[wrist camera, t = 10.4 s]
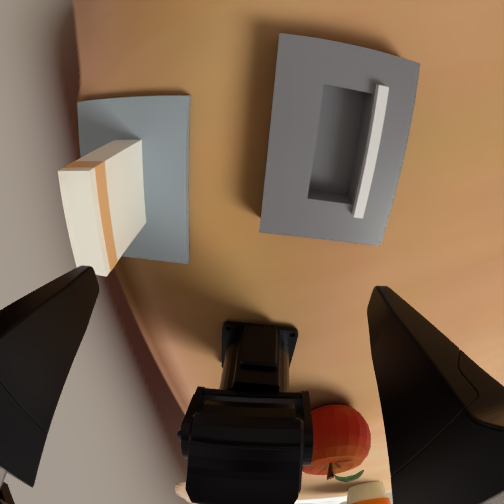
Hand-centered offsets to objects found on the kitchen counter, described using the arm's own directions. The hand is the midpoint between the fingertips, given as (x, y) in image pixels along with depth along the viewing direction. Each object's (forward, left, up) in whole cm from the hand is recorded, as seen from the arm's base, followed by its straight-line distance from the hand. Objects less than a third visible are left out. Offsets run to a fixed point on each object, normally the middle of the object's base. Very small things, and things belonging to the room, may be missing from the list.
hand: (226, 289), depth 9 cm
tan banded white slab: (-1, +8, -11) cm, 14 cm away
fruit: (-28, -12, -12) cm, 33 cm away
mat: (-1, +8, -12) cm, 15 cm away
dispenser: (+3, -5, -12) cm, 13 cm away
